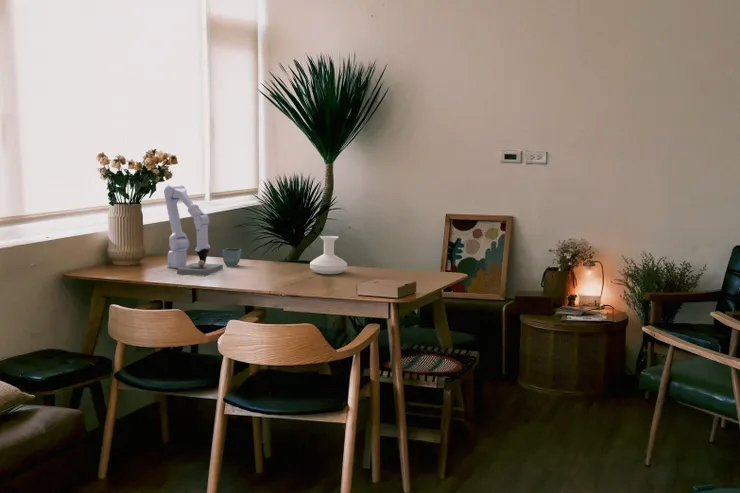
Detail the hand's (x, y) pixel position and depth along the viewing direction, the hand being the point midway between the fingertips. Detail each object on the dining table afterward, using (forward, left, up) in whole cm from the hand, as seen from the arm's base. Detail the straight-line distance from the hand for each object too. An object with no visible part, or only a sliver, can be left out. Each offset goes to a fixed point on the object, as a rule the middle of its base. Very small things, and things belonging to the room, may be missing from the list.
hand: (202, 263), depth 427 cm
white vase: (+63, +18, -4) cm, 66 cm away
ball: (0, -1, 0) cm, 1 cm away
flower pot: (+7, +22, -4) cm, 24 cm away
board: (-1, -2, -4) cm, 4 cm away
